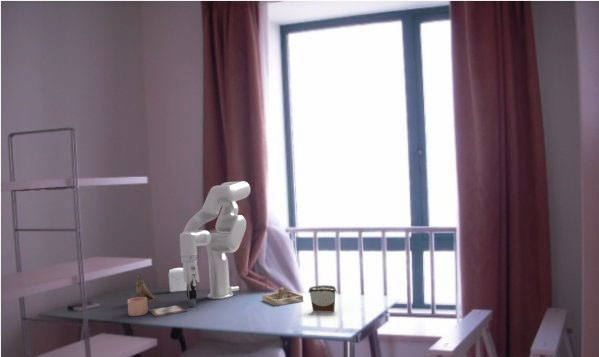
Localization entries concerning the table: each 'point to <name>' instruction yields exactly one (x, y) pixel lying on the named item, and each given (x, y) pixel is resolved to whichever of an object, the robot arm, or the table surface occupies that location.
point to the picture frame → (167, 310)
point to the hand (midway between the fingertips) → (191, 297)
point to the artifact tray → (270, 299)
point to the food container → (323, 298)
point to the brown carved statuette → (143, 290)
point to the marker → (191, 301)
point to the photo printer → (176, 280)
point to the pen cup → (137, 306)
